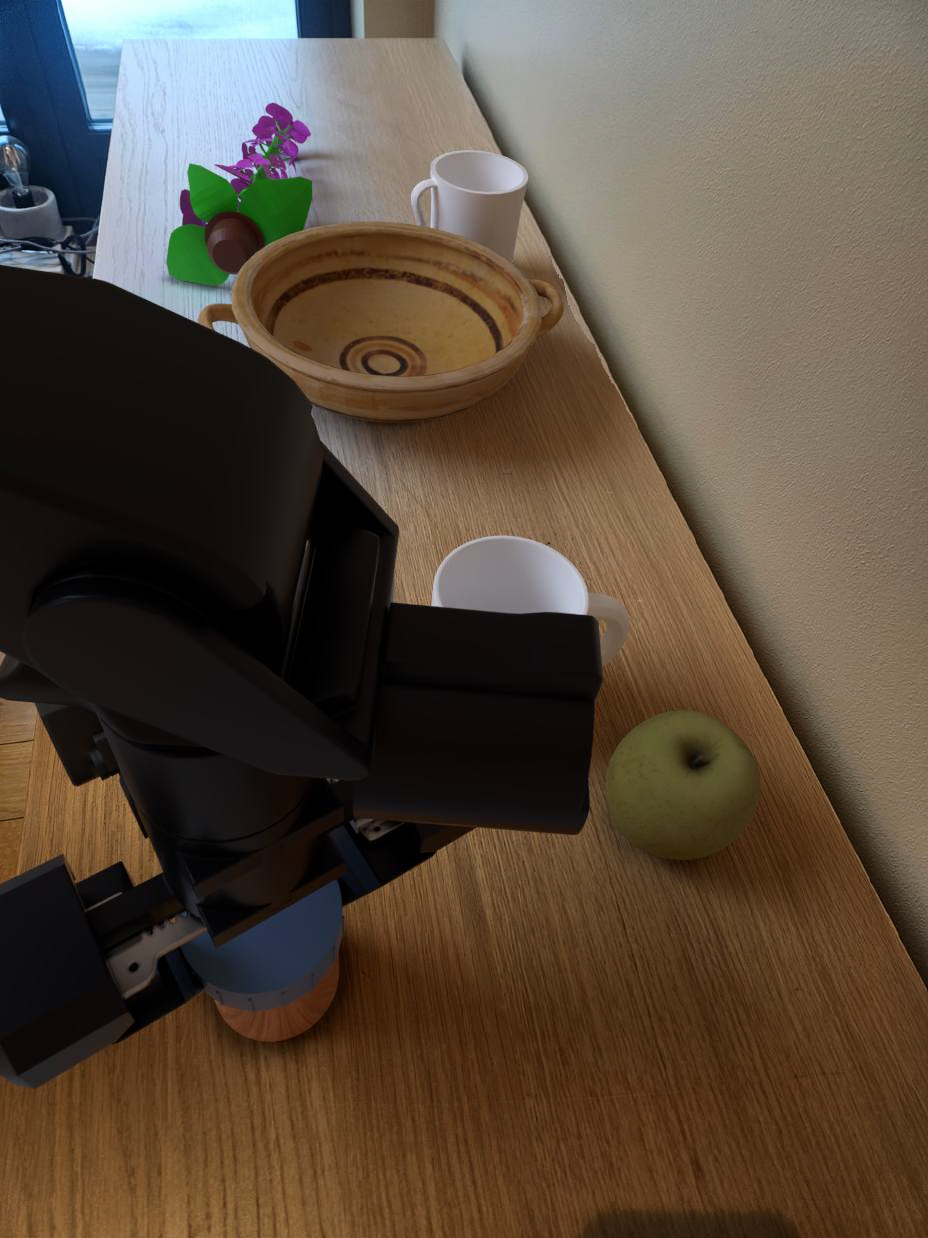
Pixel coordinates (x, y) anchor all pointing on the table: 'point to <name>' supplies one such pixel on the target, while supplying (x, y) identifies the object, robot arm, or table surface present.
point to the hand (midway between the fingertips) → (267, 937)
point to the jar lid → (272, 954)
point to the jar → (285, 1013)
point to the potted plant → (241, 205)
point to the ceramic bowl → (388, 318)
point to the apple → (682, 785)
